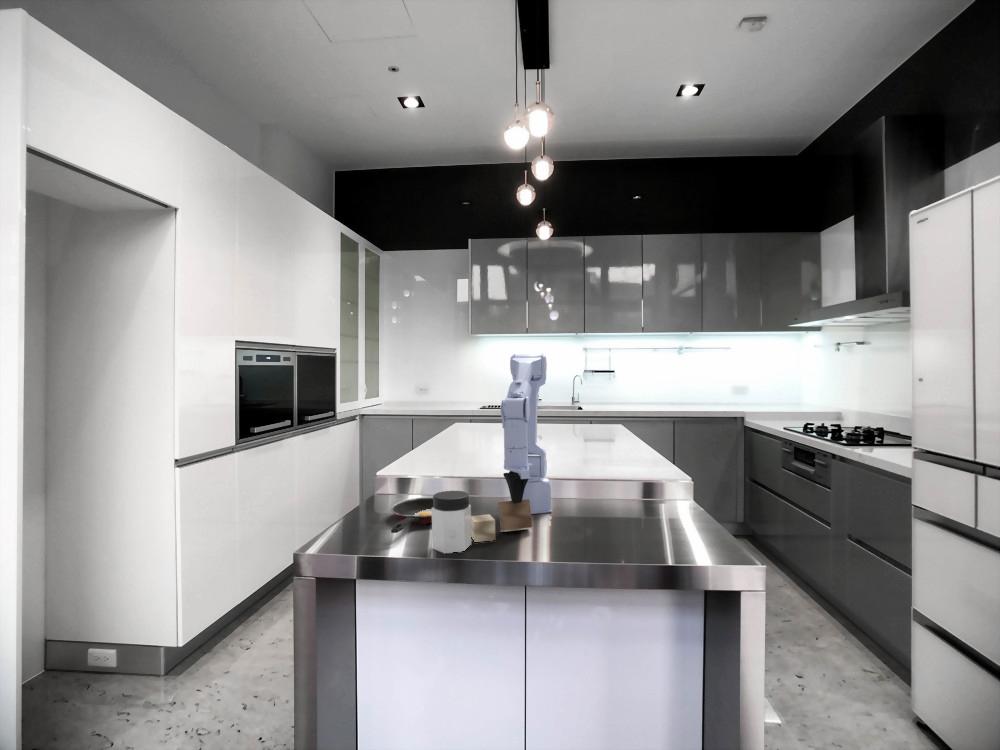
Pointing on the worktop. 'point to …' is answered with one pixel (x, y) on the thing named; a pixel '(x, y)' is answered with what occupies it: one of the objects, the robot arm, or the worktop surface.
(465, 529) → the jar
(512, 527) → the walnut block
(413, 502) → the frying pan
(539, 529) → the worktop surface
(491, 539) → the maple block
